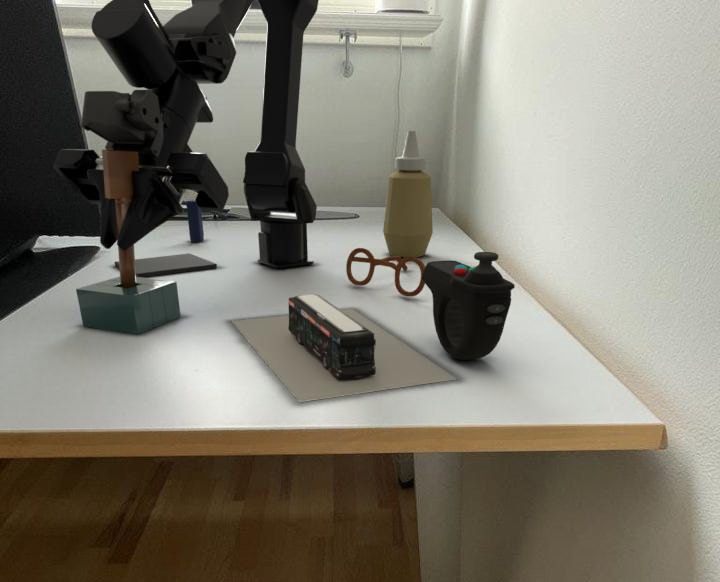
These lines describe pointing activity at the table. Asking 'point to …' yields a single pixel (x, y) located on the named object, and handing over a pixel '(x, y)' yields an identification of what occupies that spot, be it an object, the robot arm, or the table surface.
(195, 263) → the mat
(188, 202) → the eraser
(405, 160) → the squeeze bottle
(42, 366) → the table surface
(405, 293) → the glasses
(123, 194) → the brown rod with block
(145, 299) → the holder
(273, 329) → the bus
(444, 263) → the controller
